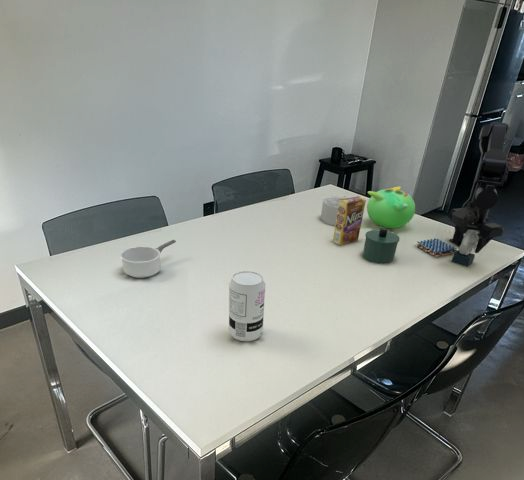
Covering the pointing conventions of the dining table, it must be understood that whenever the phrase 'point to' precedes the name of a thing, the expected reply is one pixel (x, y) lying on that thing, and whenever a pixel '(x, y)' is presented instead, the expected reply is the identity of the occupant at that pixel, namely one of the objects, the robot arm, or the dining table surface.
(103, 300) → the dining table surface
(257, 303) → the supplement can
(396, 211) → the green toy creature
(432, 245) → the woven mat
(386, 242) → the pot lid
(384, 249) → the pot
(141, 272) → the saucepan
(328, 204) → the lumpy-topped squat cylinder
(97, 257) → the dining table surface
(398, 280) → the dining table surface
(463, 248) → the watch
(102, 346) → the dining table surface
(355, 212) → the candy box
